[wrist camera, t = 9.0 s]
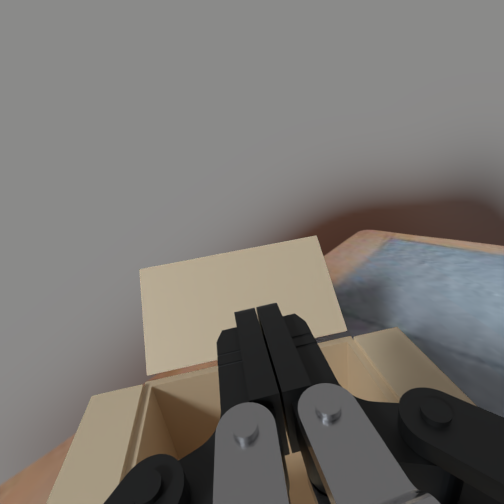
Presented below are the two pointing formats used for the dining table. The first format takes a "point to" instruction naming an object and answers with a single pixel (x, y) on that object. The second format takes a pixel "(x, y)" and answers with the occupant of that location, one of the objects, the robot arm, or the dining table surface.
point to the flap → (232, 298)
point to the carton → (209, 410)
